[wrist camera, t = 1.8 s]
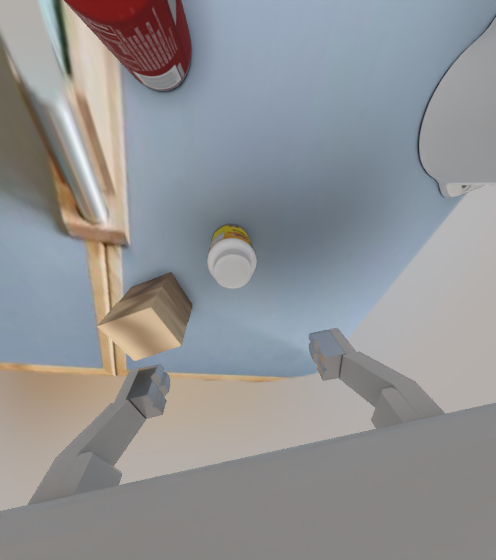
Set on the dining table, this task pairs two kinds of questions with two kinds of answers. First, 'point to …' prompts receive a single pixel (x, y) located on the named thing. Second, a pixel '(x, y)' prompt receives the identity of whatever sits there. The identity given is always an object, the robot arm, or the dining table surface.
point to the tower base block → (170, 287)
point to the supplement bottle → (231, 257)
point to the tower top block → (145, 324)
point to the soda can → (142, 37)
